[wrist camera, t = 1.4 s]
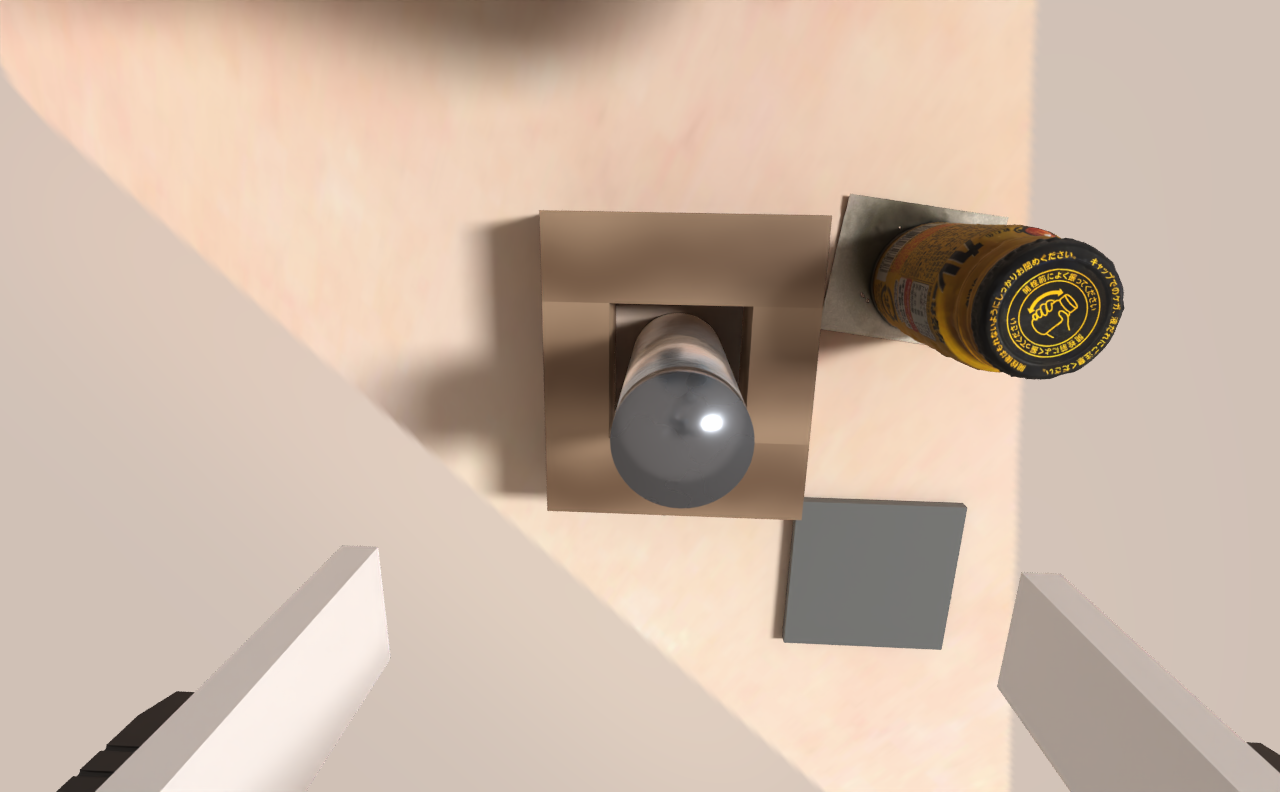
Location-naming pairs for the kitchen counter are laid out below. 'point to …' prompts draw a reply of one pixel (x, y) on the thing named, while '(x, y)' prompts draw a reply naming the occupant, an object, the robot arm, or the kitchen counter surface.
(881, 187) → the kitchen counter surface
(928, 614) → the mat
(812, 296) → the housing
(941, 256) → the condiment
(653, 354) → the plug
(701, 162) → the kitchen counter surface
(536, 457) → the kitchen counter surface
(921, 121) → the kitchen counter surface
